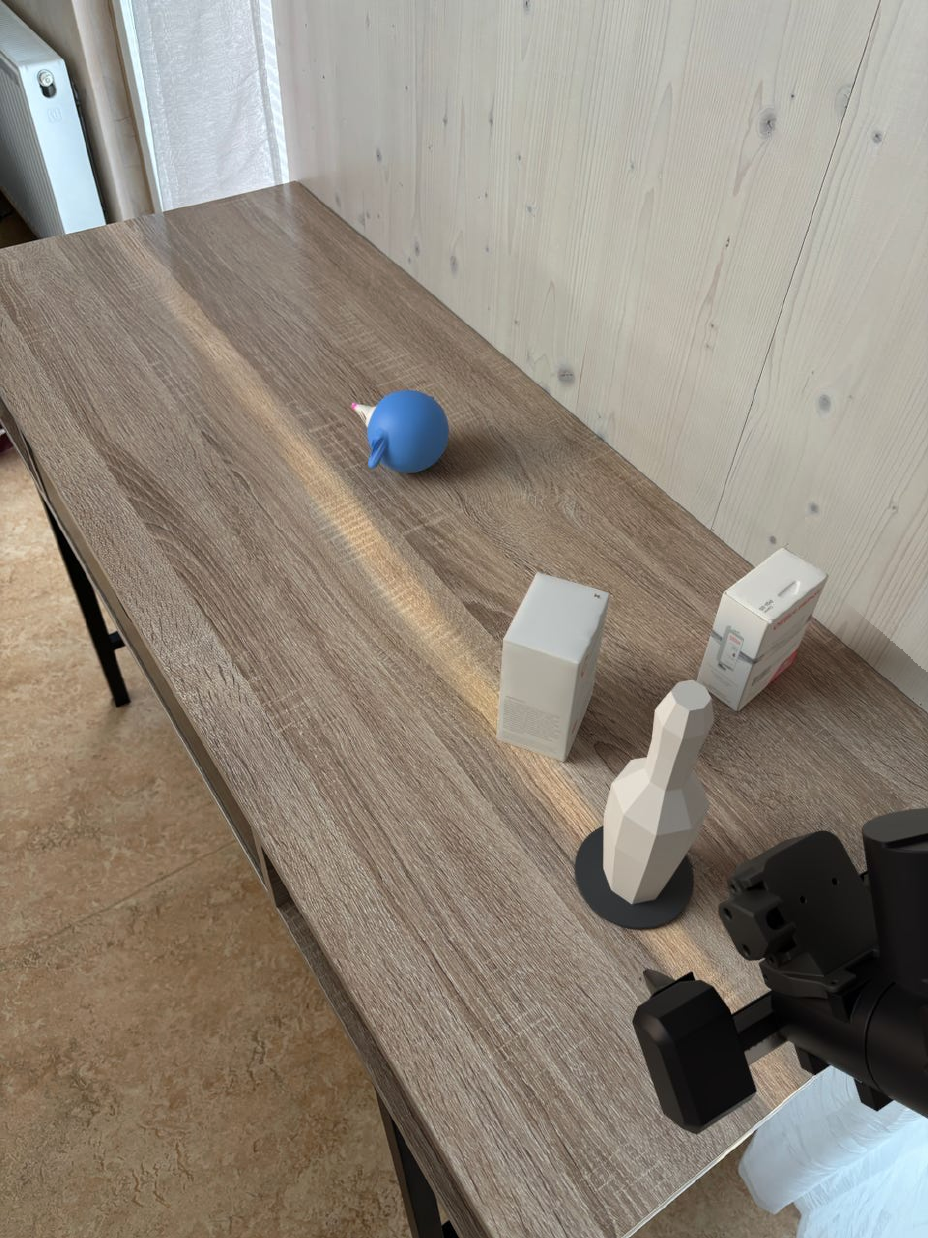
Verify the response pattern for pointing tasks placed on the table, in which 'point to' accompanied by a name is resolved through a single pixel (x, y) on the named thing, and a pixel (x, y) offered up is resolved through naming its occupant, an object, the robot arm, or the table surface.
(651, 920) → the coaster
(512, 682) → the small box
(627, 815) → the faceted bottle
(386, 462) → the blue mole toy
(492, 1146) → the table surface
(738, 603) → the ink box
